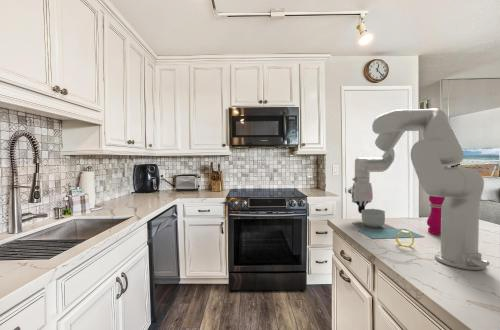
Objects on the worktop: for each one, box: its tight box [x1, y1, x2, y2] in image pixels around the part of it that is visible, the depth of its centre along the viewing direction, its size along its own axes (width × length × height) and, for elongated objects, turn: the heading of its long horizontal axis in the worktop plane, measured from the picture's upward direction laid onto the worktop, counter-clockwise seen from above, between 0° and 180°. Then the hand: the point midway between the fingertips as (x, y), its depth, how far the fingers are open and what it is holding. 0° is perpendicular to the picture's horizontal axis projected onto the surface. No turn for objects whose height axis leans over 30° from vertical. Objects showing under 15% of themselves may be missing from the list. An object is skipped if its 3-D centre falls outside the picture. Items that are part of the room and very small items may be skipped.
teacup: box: [360, 208, 386, 228], centre depth 125 cm, size 14×11×8 cm
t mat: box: [352, 222, 425, 240], centre depth 119 cm, size 25×24×1 cm
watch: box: [395, 230, 415, 248], centre depth 97 cm, size 6×3×6 cm, turn 52°
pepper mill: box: [426, 195, 445, 236], centre depth 113 cm, size 7×7×20 cm
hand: (361, 212), depth 137 cm, fingers closed
